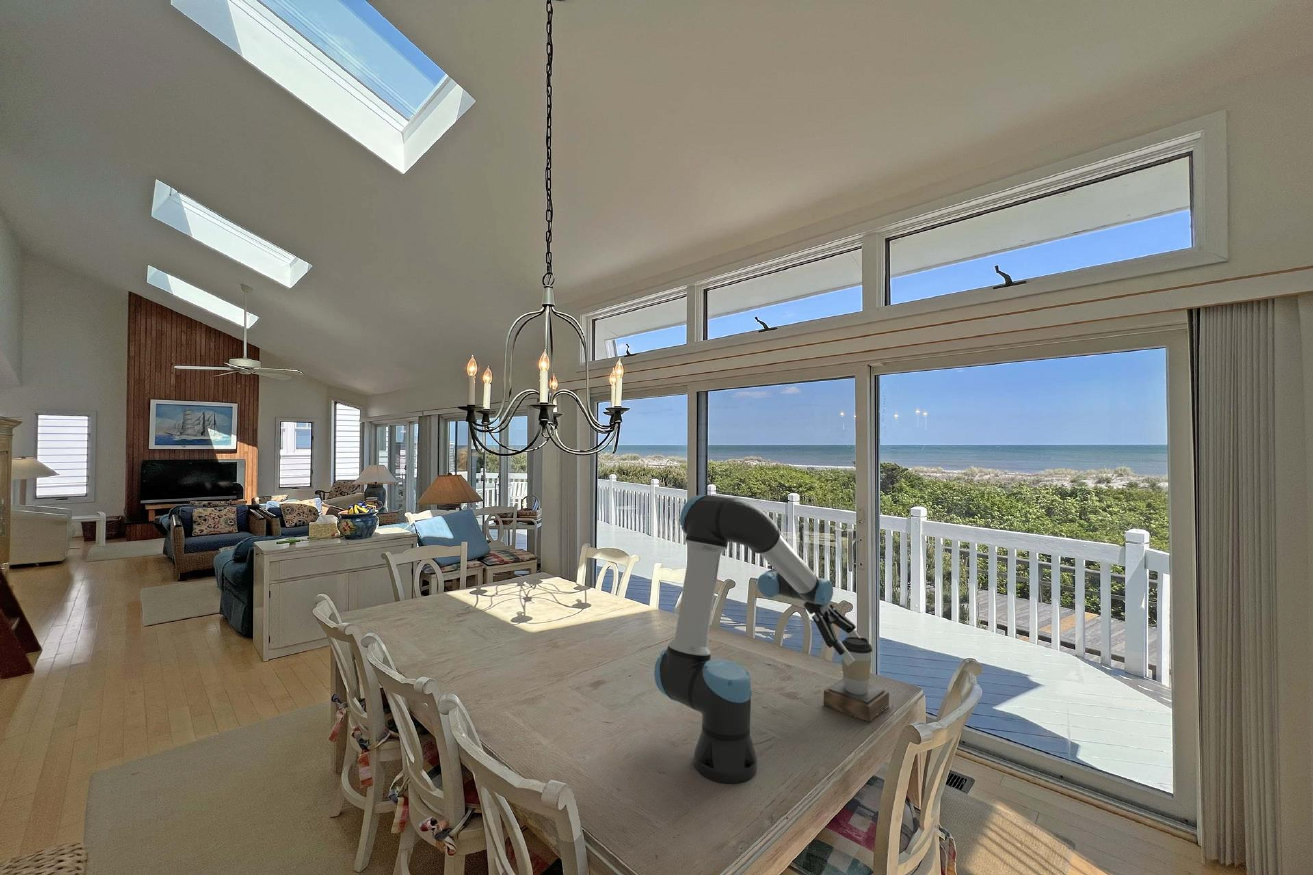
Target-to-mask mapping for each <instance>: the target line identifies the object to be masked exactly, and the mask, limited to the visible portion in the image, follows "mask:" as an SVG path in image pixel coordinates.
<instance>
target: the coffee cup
mask: <svg viewBox="0 0 1313 875" xmlns="http://www.w3.org/2000/svg"><path fill="white" fill-rule="evenodd" d="M841 643H842V644H843V645H844V647H845V648H846V649H847V650H848V652H849V653H850V654H851V655H852V657H853V658H854V659H855V661H854V662H853V663H851V664H850V665H849V666H847V664H846V663H845V662H844V660H843V659H842V658H841V667H842V670H841V671H842V677H843V678H842V679H844V689H845V690H846V691H848V692H850V693H853V694H866V693H868V685H870V684H869V682H870V677H871V667H872V652H873V647H872V645H871V644H870V643H869V640H868V639H867V638H865V637H861V638H858V637H849V636H847V637H845V638H844V639H843V640H842V641H841Z"/></svg>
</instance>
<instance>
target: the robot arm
mask: <svg viewBox="0 0 1313 875" xmlns="http://www.w3.org/2000/svg"><path fill="white" fill-rule="evenodd" d="M679 524H680V526H681V530H682V532H683V533H684V534H685V543H686V544H687V546H688V550H689V551H688V556H687V562H686V569H685V572H684V573H685V575H684V581H683V586H682V587H683V588H682V592H681V598H680V604H679V605H680V606H679V611H678V617H677V623H676V629H675V634H674V635H675V636H674V638H673V639H672V640H671V641H669V642H668V643H667V647H666V648H665V649H663V650H662V651H661V652H660V654H659V657H657V659H656V662H655V664H654V670H653V671H654V673H653V674H654V675H653V676H654V681H655V685H656V687H657V688H658V690H659V691H660V692H661V693H662V694H663V695H665V696H666V697H667V698H668V699H670V700H673V701H674V702H678V703H680V704H681V705H683V706H686V707H688V708H690V709H692V710H695V711H696V712H699V713H701V731H700V734H699V737H698V740H697V743H696V745H695V748H694V752H693V753H694V754H693V764H694V767H695V769H696V771H697V772H698V773H699V774H700V775H701V776H703V777H705V778H706V779H708V780H711V781H714V782H717V783H722V784H723V783H724V784H738V783H743V782H746V781H748V780H750V779H751V778H753V777H754V775H756V773H757V770H758V769H757V768H758V764H757V763H758V758H757V754H756V751H755V750H756V749H755V746H754V743H753V740H752V736H751V708H752V707H751V704H752V702H751V700H752V699H751V698H752V692H753V691H752V686H751V685H752V684H751V682H752V681H751V680H752V679H751V677H750V674H749V673H750V672H748V670H747V669H746V668H745V667H744V666H742V665H741V664H740V663H738V662H735V661H733V660H730V659H726V660H725V659H723V658H712V659H711V656H712V651H711V650H710V648H709V647H708V637H709V632H710V627H711V626H710V624H711V620H712V612H713V607H714V600H715V593H716V586H717V580H718V573H719V566H720V560H721V554H722V553H724V552H725V551H726V550H727V549H728V546H729V543H735V544H739V545H742V546H745V547H747V548H748V549H749V550H750V551H752V552H753V553H755V554H757V555H758V554H760V555H761V557H762V558H763V559H764V560H765V561H766V562H767V563H768V564H769V565H770V566H771V567H772V568H771V569H769V570H766V571H765V572H763V573H762V574H761V575H760V576H758V578H757V581H756V582H757V588H758V590H759V592H760V593H761V595H762V596H764V597H766V598H774V597H777V596H778V595H779V596H783V597H787V598H792V599H795V600H799V602H800V603H801V604H803V607H804V608H805V610H806V611H807V613H809V614H810V615H813V614H814V615H813V616H811V618H812V620H813V622H814V623H815V625H816V626H817V629H818V631H819V633H820V634H821V638H822V639H823V641H824V642H825V645H826V646H828V648H830V649H831V648H832V647H833V649H834V650H835V651H836V652H837V654H838V655H839V656H840V659H841V660H842V659H843V660H844V662H845V663H846V664H847V666H849V665H850V664H851V663H853V662H854V661H855V659H854V658H853V657H852V655H851V654H850V653H849V652H848V650H847V649H846V648H845V647H844V645H843V644H842V641H841V640H838V637H837V634H836V632H835V630H834V627H833V625H835V626H836V627H838V628H840V629H841V630H843V632H845V633H847V637H858V638H862V637H861V636H860V635H859V634H858V632H857V631H856V630H855V629H856V628H857V627H856V625H855V624H854V622H852V621H851V620H850V619H849V618H847V617H846V616H845V615H844V614H843V613H842V612H841V611H840V610H838V609H837V608H836V607H835V605H833V604H830V602H831V601H832V599H833V595H834V586H833V584H832V581H830V580H829V579H825V578H823V577H818V576H817V575H816V574H815V573H814V571H812V569H811V568H810V567H809V566H808V564H806V562H805V561H804V560H803V559H802V558H801V556H800V555H798V552H796V550H794V548H793V547H791V545H790V544H789V543H788V542H787V541H786V540H785V538H784V537H783V536H782V535H781V530H780V528H779V526H778V524H777V523H776V522H775V521H774V520H773V519H772V518H771V517H770V516H769V515H768V514H767V513H766V512H765V511H763V510H762V509H760V508H759V507H758V506H756V505H755V504H753V503H752V502H749V501H747V500H745V499H742V498H737V497H727V496H719V495H717V496H716V495H711V494H710V495H709V494H704V495H694V496H692V497H690V499H689V500H687V501H686V503H685V504H684V505H683V507H682V509H681V512H680V516H679Z"/></svg>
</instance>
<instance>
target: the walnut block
mask: <svg viewBox="0 0 1313 875" xmlns="http://www.w3.org/2000/svg"><path fill="white" fill-rule="evenodd" d="M823 706H826V707H828V708H831V709H833V708H834V710H835V709H836V711H838V710H840V711H839V712H841V713H843V712H845V713H844V714H846V713H847V715H849V714H851V715H853V716H852V717H854V716H856V717H858V718H857V719H859V718H860V719H859V720H862V719H864V720H866V721H865V722H867V721H871V720H872V719H873V718H874V717H875V716H877V714H879V713H880V712H881V711H882V710H884V709H885V708H886V707H887V706H889V707H890V692H889V691H888V690H885V689H883V688H880V687H877V686H874V685H873V684H872V685H871V684H869V685H868V693H866V694H853V693H850V692H848V691H846V690H845V689H844V679H843V678H841V679H840V680H838V681H837V682H835V683H833V684H831V685H830V686H828V687H827V688H825V689H824V690H823ZM886 709H887V708H886ZM886 709H885V710H886ZM885 710H884V711H885ZM880 714H881V713H880ZM880 714H879V715H880ZM851 715H850V716H851ZM856 717H855V718H856ZM877 717H878V716H877ZM875 718H876V717H875ZM875 718H874V719H875ZM874 719H873V720H874ZM864 720H863V721H864ZM873 720H872V721H873ZM872 721H871V722H872Z"/></svg>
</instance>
